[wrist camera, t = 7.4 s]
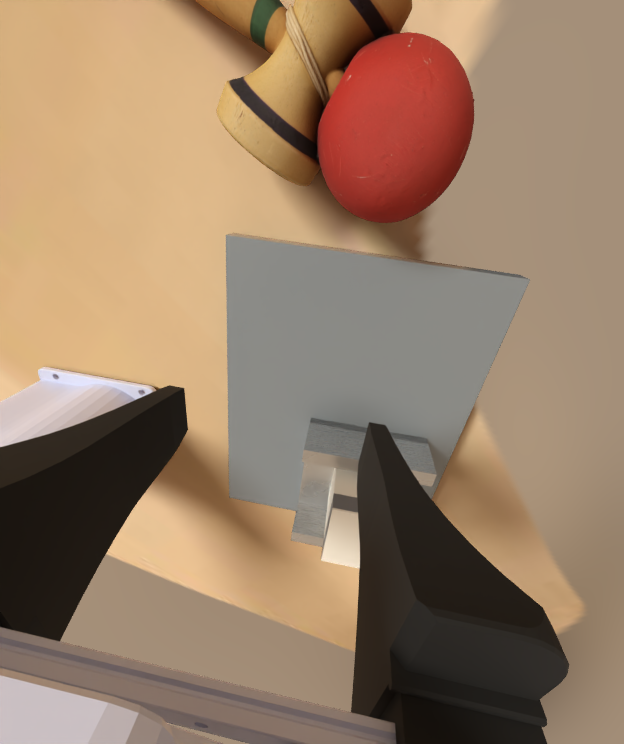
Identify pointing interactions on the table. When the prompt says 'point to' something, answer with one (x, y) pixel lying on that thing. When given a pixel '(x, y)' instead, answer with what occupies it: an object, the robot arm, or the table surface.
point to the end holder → (342, 451)
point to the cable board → (350, 352)
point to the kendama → (349, 102)
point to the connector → (342, 521)
